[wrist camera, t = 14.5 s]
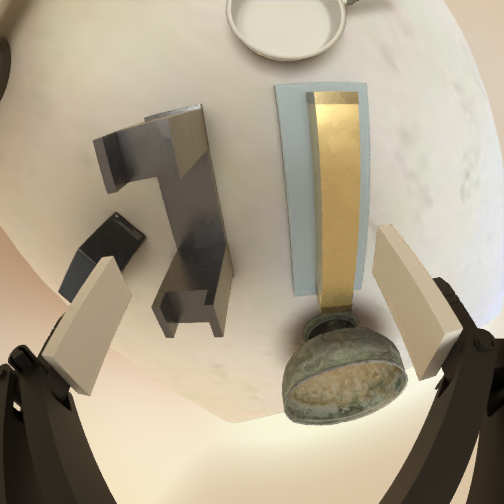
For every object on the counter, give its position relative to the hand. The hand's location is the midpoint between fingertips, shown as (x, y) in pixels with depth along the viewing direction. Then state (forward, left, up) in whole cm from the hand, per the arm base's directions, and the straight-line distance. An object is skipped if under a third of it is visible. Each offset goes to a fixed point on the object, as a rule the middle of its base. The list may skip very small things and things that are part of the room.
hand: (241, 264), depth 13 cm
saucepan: (+9, +18, -23) cm, 30 cm away
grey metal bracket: (-9, -5, -22) cm, 24 cm away
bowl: (+10, -31, -22) cm, 39 cm away
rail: (+8, -6, -20) cm, 22 cm away
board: (+8, -6, -22) cm, 24 cm away
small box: (-23, -10, -23) cm, 33 cm away
